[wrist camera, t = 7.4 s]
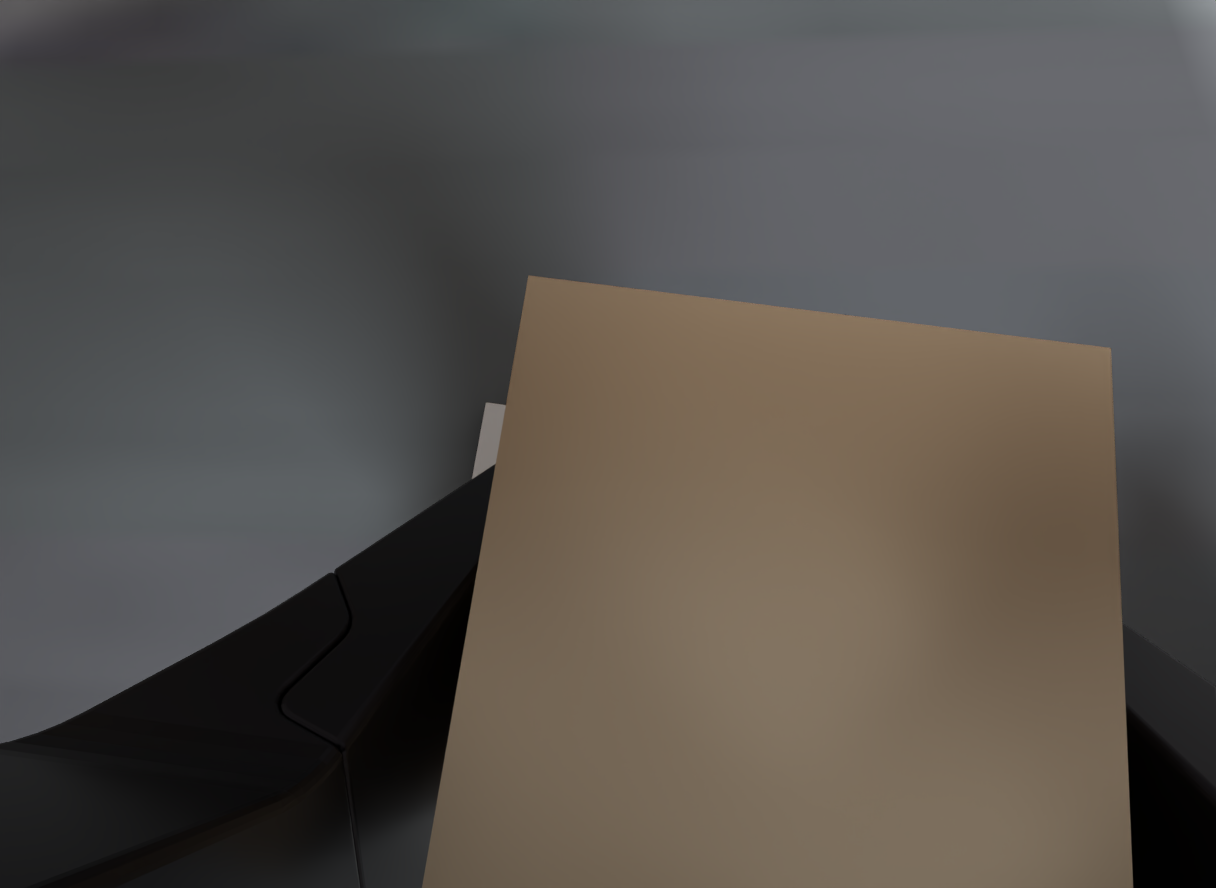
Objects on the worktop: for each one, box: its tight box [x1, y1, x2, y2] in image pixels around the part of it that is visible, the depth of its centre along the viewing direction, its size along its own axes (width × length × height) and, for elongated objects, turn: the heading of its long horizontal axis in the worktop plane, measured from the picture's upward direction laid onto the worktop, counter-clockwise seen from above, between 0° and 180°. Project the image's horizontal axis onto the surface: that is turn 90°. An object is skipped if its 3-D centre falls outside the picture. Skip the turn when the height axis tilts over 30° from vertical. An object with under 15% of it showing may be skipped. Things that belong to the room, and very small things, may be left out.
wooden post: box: [422, 275, 1133, 888], centre depth 10 cm, size 5×5×11 cm
